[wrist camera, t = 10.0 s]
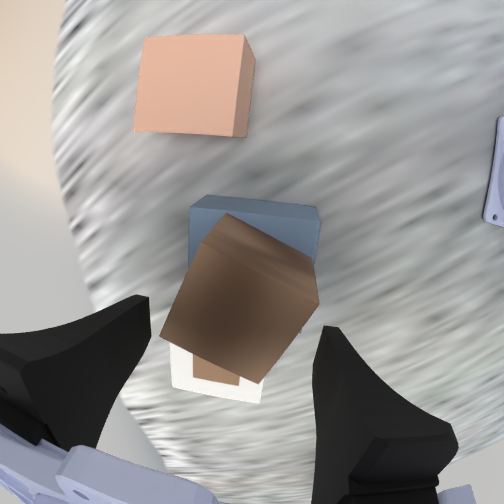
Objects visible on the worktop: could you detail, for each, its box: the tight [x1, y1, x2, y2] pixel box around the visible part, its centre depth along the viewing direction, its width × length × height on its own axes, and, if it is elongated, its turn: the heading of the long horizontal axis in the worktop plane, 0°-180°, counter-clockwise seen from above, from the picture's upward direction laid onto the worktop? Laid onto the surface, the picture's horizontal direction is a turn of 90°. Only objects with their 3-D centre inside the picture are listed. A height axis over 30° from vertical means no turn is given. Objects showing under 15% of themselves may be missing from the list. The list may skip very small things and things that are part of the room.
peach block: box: [133, 34, 256, 137], centre depth 16 cm, size 5×5×5 cm
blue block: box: [188, 195, 321, 333], centre depth 19 cm, size 7×7×4 cm
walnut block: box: [159, 213, 319, 384], centre depth 15 cm, size 5×5×5 cm
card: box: [170, 342, 264, 404], centre depth 25 cm, size 8×8×1 cm
